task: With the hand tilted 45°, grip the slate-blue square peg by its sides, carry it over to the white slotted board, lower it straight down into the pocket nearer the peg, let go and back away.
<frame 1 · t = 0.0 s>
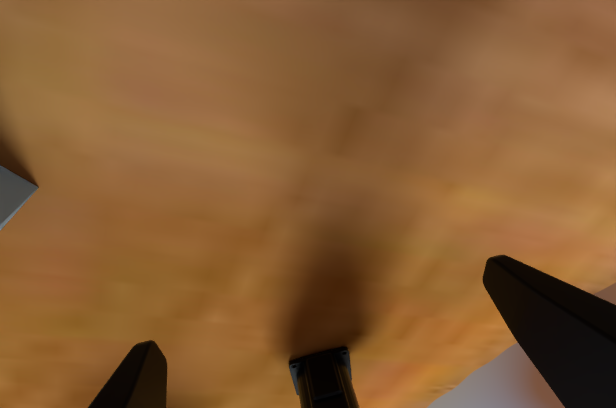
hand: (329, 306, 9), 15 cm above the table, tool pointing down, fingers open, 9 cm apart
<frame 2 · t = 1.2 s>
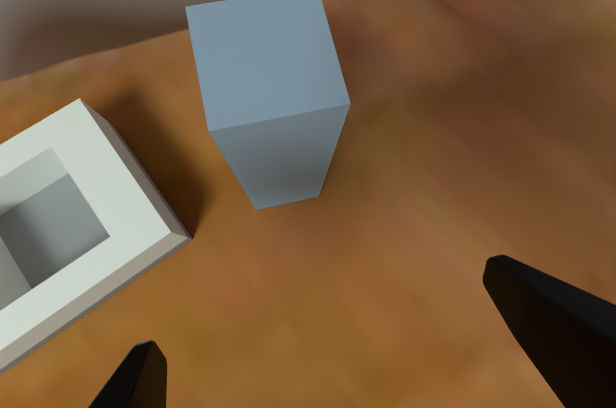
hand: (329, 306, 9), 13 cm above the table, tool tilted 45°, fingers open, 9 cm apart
peg: (280, 173, 23), on the table
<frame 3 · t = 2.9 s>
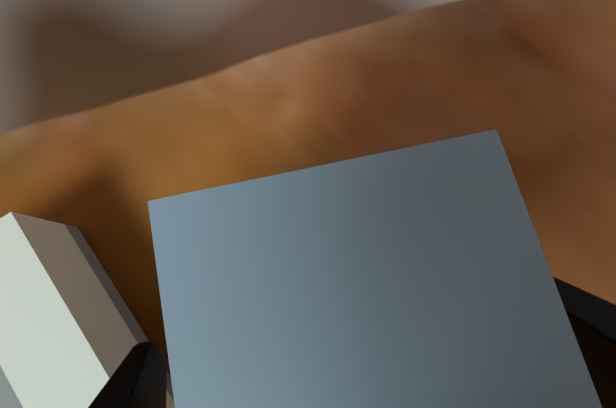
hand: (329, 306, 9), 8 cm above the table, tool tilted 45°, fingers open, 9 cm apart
peg: (312, 293, 16), on the table
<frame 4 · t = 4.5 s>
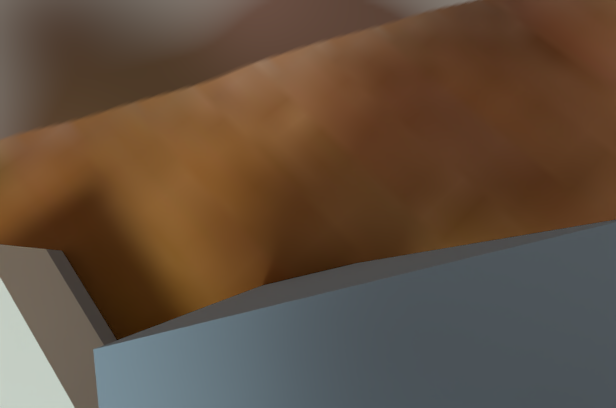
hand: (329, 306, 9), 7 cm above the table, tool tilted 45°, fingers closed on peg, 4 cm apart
peg: (320, 323, 15), on the table, touching gripper
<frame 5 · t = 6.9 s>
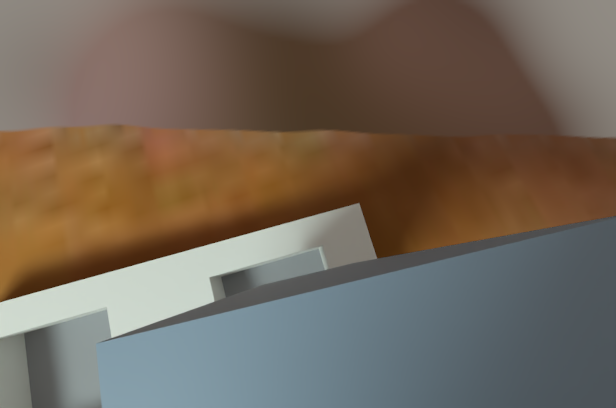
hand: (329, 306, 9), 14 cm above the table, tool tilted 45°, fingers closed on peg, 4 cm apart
white slotted board: (193, 338, 21), on the table
peg: (321, 322, 15), point 7 cm above the table, touching gripper
when the fingers open (9 cm above the table, at t = 9.2 s): peg drops 1 cm, resting on white slotted board.
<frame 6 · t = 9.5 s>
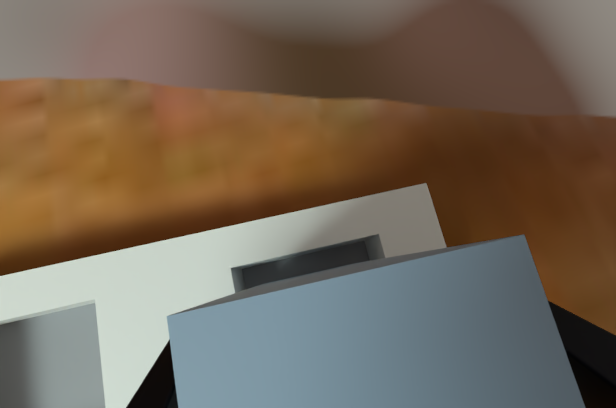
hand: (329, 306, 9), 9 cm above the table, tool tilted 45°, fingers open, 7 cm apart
white slotted board: (203, 344, 17), on the table
peg: (317, 318, 16), point 1 cm above the table, touching white slotted board
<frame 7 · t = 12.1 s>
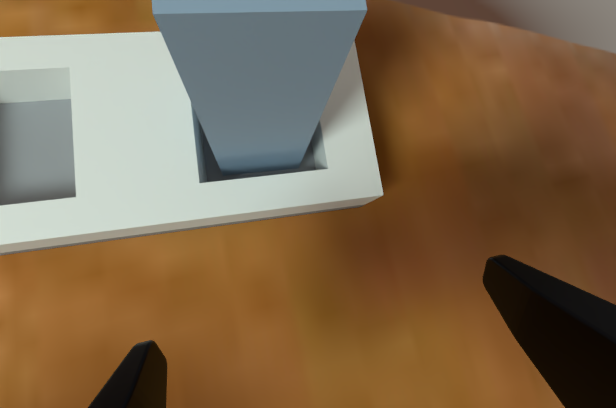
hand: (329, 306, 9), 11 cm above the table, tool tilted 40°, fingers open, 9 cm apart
white slotted board: (158, 151, 20), on the table
peg: (257, 136, 20), point 1 cm above the table, touching white slotted board
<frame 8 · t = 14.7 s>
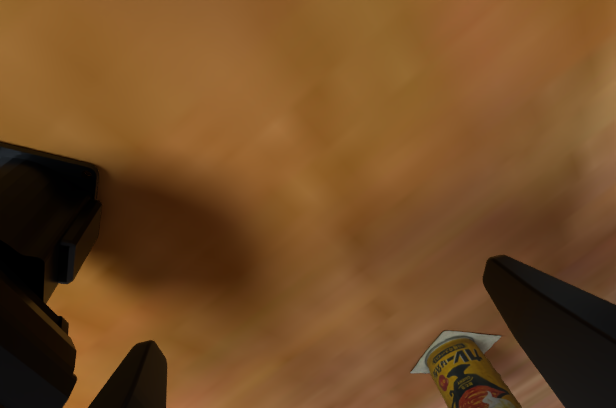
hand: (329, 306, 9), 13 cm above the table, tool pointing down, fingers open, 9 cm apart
condiment: (453, 351, 37), on the table
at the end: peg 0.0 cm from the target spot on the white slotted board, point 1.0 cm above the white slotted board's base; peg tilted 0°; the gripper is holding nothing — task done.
